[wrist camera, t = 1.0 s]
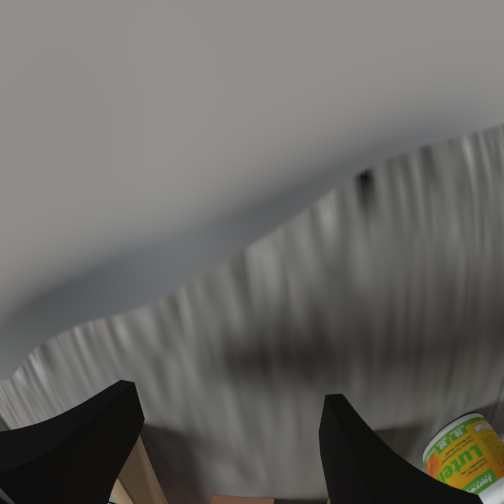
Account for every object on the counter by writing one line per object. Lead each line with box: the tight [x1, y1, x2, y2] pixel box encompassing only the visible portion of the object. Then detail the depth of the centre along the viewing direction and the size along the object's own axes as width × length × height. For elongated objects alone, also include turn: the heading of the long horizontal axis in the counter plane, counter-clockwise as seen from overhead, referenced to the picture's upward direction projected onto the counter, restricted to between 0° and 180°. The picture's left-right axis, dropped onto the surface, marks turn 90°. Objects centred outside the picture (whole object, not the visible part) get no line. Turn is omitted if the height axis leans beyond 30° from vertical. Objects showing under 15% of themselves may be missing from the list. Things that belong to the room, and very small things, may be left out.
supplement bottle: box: [423, 413, 504, 504], centre depth 9 cm, size 5×5×10 cm
